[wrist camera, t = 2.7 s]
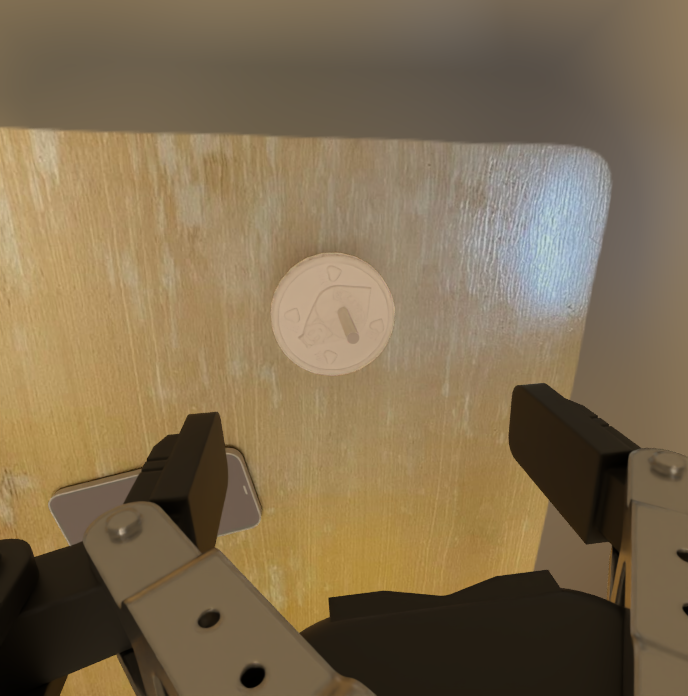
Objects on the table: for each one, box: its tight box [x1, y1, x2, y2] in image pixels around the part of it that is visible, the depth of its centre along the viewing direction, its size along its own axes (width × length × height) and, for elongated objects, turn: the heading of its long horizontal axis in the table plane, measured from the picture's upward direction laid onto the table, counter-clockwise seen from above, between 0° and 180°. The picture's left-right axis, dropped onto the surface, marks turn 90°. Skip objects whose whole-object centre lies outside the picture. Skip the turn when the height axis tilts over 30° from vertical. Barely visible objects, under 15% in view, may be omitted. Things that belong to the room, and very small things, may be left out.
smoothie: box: [271, 252, 395, 376], centre depth 25 cm, size 6×6×14 cm
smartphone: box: [48, 448, 262, 546], centre depth 36 cm, size 7×1×15 cm
